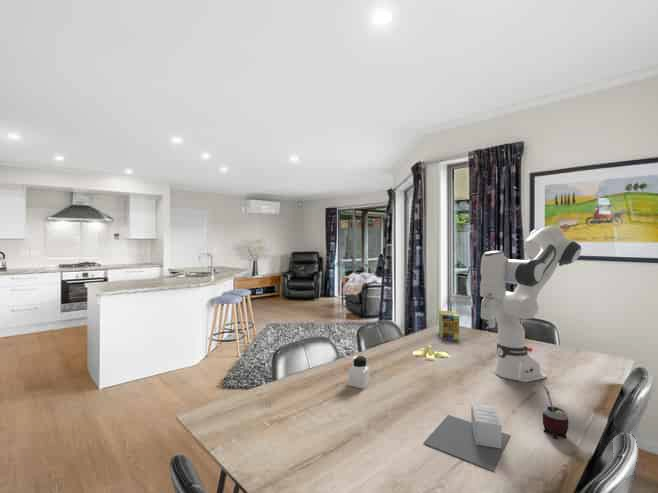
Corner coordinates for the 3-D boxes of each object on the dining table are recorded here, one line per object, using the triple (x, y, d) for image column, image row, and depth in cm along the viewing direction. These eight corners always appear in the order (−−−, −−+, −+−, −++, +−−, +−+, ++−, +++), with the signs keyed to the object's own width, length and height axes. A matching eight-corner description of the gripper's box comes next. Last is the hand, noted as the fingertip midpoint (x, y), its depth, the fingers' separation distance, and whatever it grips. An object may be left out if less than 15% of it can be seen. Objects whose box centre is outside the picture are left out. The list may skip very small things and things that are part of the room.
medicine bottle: (369, 382, 149) (369, 355, 149) (364, 389, 143) (364, 360, 143) (354, 379, 152) (354, 353, 152) (348, 386, 146) (348, 358, 146)
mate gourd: (568, 443, 106) (569, 395, 105) (539, 435, 110) (540, 389, 109) (567, 431, 112) (568, 386, 112) (539, 424, 116) (540, 381, 116)
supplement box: (494, 427, 113) (501, 449, 101) (470, 423, 116) (474, 445, 104) (495, 405, 113) (502, 425, 101) (471, 402, 116) (475, 421, 103)
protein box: (442, 339, 217) (442, 315, 217) (438, 332, 233) (438, 310, 232) (459, 340, 216) (459, 315, 215) (454, 333, 231) (454, 311, 231)
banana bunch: (455, 357, 185) (455, 346, 185) (436, 365, 173) (436, 353, 173) (420, 347, 202) (420, 336, 202) (401, 353, 190) (401, 342, 190)
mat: (448, 415, 122) (448, 414, 122) (510, 435, 109) (510, 435, 109) (423, 443, 104) (423, 442, 104) (493, 471, 92) (493, 470, 92)
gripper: (494, 296, 123) (494, 334, 123) (506, 290, 139) (506, 323, 139) (476, 294, 127) (475, 331, 127) (490, 288, 143) (489, 321, 143)
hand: (491, 327), depth 133 cm, fingers closed
